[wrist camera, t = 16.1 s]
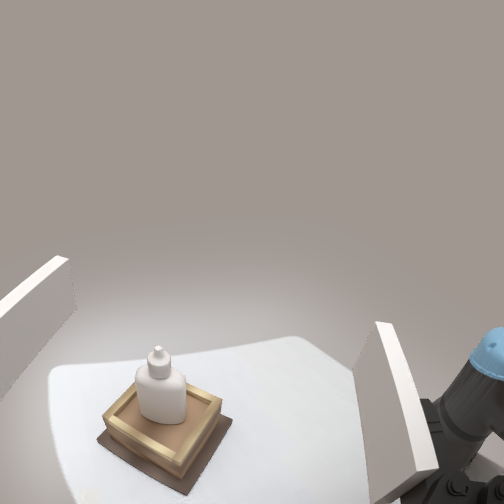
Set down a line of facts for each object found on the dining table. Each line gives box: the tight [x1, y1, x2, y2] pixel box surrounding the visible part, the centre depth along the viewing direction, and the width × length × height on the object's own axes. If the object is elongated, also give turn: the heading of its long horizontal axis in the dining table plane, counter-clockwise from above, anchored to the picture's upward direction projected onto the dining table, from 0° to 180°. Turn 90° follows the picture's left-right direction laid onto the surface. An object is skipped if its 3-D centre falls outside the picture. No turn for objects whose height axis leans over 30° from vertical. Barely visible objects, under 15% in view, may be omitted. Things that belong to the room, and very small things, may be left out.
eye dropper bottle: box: [135, 346, 186, 424], centre depth 30 cm, size 4×6×12 cm
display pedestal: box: [97, 382, 233, 496], centre depth 34 cm, size 14×14×7 cm
